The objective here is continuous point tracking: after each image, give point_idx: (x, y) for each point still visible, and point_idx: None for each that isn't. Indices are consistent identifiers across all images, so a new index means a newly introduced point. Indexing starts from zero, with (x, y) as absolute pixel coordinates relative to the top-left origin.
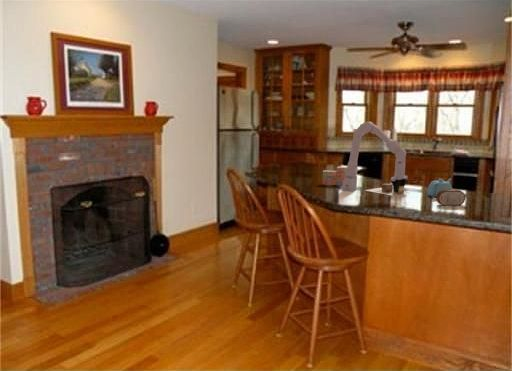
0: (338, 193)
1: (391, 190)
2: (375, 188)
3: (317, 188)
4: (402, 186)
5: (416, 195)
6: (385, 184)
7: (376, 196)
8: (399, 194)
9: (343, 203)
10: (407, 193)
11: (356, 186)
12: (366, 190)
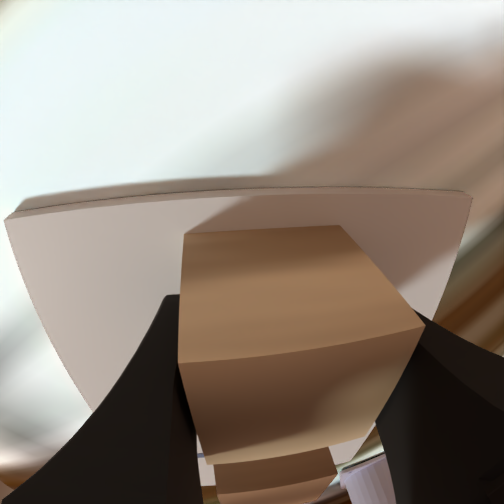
0: None
1: None
2: (215, 483)
3: None
4: (275, 362)
5: (35, 46)
6: (309, 494)
7: (497, 310)
8: (339, 225)
9: None
10: (95, 206)
11: (380, 482)
12: (347, 457)
